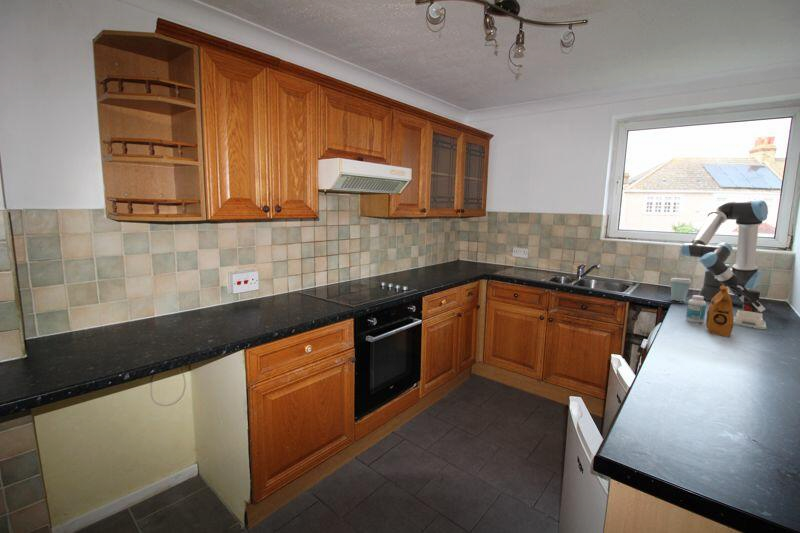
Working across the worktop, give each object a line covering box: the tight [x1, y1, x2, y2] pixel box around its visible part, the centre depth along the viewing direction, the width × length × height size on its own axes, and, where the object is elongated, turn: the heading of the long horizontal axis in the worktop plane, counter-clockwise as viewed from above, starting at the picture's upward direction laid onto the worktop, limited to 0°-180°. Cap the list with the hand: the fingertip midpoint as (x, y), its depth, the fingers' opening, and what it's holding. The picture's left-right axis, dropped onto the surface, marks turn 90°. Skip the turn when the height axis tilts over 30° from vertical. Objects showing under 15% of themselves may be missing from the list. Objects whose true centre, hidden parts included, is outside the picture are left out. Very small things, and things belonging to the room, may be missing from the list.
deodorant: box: [741, 289, 761, 313], centre depth 207 cm, size 6×6×15 cm
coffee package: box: [705, 286, 735, 338], centre depth 181 cm, size 10×12×22 cm
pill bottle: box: [685, 294, 707, 324], centre depth 199 cm, size 8×7×14 cm
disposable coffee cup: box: [670, 277, 692, 302], centre depth 241 cm, size 11×11×15 cm
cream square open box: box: [733, 309, 767, 331], centre depth 197 cm, size 14×13×5 cm
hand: (756, 307), depth 206 cm, fingers open, 11 cm apart
